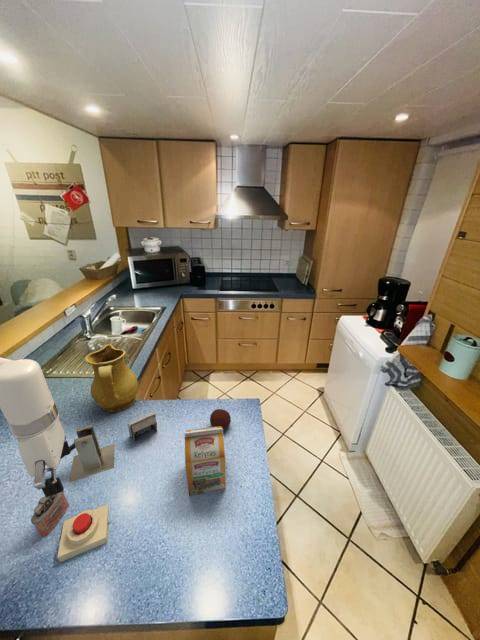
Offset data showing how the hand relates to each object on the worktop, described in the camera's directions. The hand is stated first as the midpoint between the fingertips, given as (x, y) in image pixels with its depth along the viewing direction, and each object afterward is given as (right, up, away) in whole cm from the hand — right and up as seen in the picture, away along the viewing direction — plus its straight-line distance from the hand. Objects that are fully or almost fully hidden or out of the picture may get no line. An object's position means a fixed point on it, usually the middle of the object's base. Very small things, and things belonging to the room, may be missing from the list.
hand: (59, 472), depth 58 cm
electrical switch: (+8, -6, +32) cm, 33 cm away
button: (+3, -15, +4) cm, 16 cm away
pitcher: (-9, 0, +46) cm, 47 cm away
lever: (-8, -4, +17) cm, 19 cm away
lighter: (-6, -17, +7) cm, 20 cm away
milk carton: (+31, -13, +19) cm, 39 cm away
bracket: (-5, -11, +22) cm, 25 cm away
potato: (+34, -5, +36) cm, 50 cm away
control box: (+3, -18, +5) cm, 19 cm away
